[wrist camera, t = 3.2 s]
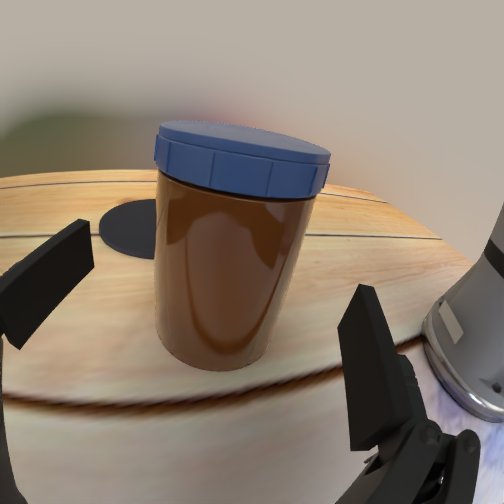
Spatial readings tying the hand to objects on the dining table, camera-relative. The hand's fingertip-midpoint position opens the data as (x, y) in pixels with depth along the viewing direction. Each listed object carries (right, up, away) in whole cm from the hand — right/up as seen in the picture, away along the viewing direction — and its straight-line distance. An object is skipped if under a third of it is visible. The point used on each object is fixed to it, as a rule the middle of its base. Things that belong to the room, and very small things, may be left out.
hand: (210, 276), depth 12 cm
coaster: (-8, +4, +16) cm, 18 cm away
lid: (+1, +6, 0) cm, 6 cm away
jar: (-1, -4, +5) cm, 7 cm away
